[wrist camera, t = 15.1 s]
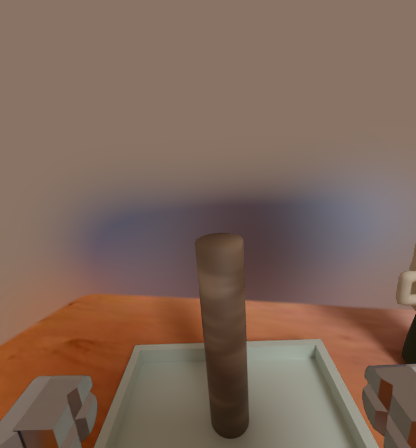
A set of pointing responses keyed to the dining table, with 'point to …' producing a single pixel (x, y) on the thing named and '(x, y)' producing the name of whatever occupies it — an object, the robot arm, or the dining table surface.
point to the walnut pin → (224, 330)
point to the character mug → (411, 295)
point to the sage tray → (257, 396)
